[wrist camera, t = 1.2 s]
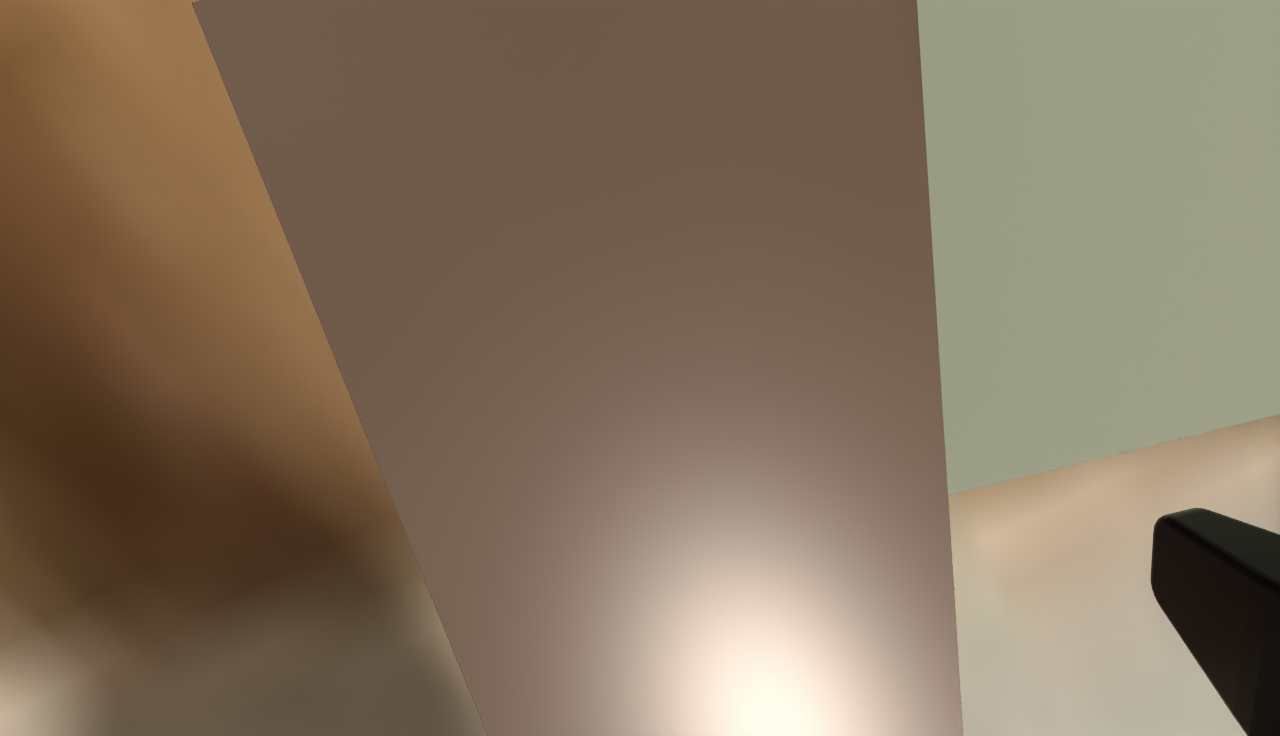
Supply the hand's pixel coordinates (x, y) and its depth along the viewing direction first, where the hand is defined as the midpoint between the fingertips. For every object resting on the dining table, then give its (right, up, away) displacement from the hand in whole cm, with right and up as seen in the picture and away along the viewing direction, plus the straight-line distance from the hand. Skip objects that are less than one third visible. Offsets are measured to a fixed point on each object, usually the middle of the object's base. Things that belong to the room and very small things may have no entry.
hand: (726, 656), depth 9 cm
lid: (-1, +3, +5) cm, 6 cm away
